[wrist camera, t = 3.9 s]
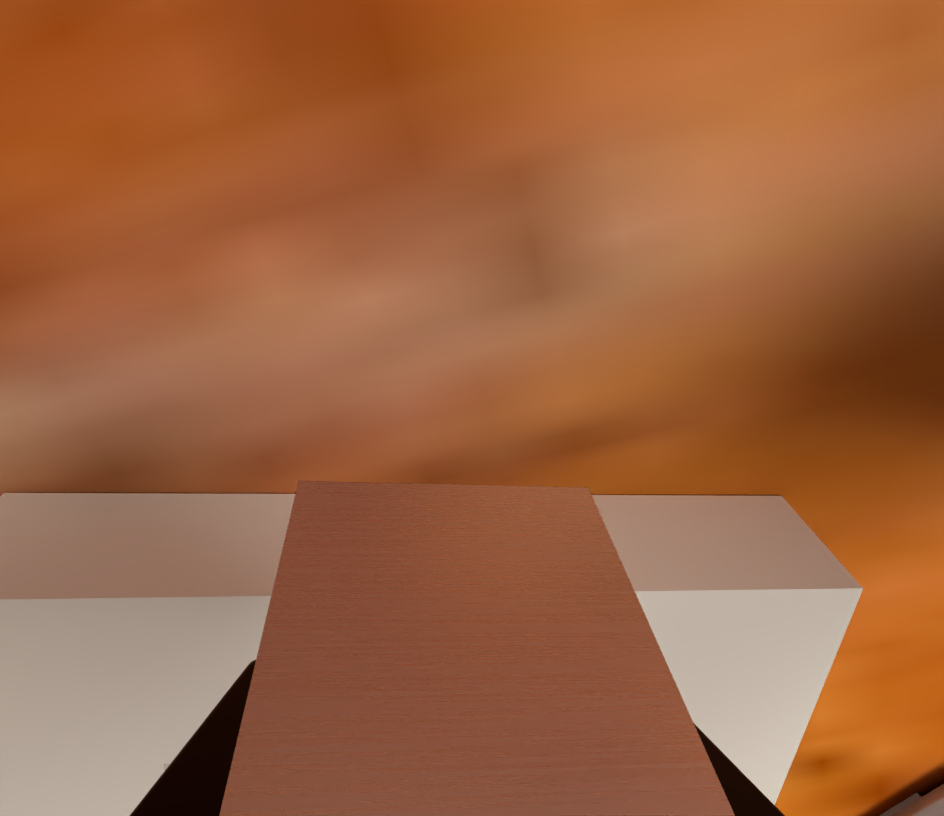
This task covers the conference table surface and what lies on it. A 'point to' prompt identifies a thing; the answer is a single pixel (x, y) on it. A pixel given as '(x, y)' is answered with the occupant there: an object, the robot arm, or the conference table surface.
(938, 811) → the digital clock
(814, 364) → the conference table surface
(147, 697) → the slot board
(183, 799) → the robot arm
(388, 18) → the conference table surface
